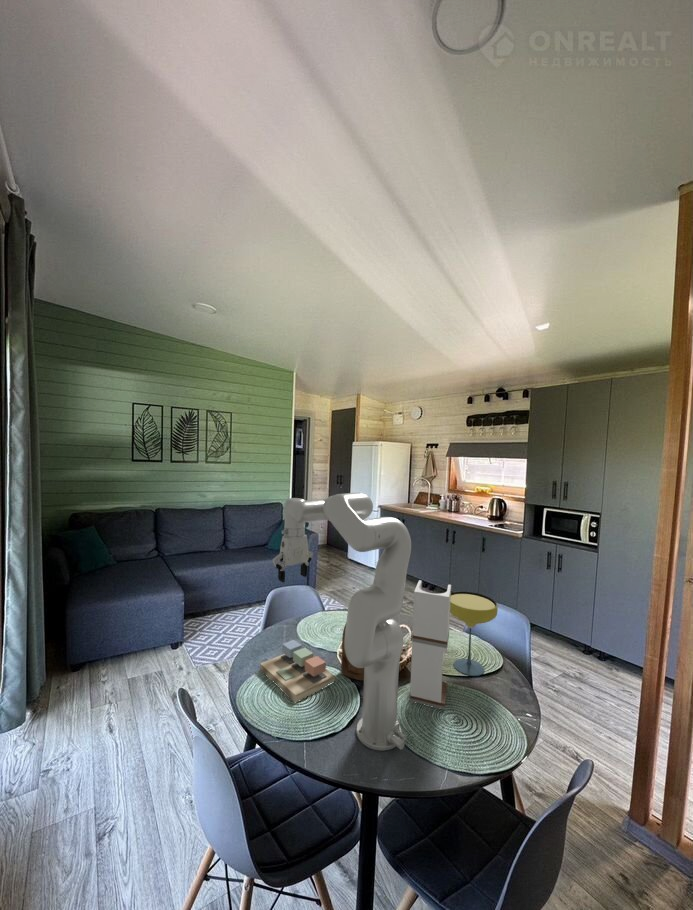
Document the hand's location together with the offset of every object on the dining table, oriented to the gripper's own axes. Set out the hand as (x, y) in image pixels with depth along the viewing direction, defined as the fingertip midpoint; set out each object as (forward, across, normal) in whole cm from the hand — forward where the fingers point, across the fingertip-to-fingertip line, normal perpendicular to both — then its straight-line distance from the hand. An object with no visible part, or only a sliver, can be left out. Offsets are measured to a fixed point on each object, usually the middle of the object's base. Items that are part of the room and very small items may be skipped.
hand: (292, 578), depth 137 cm
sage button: (+26, -1, -9) cm, 28 cm away
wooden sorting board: (+31, -3, -9) cm, 32 cm away
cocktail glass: (+31, +50, -44) cm, 73 cm away
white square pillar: (+31, +25, -44) cm, 59 cm away
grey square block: (+26, -1, -2) cm, 27 cm away
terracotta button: (+26, 0, -16) cm, 31 cm away
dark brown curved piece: (+31, +14, -21) cm, 40 cm away
